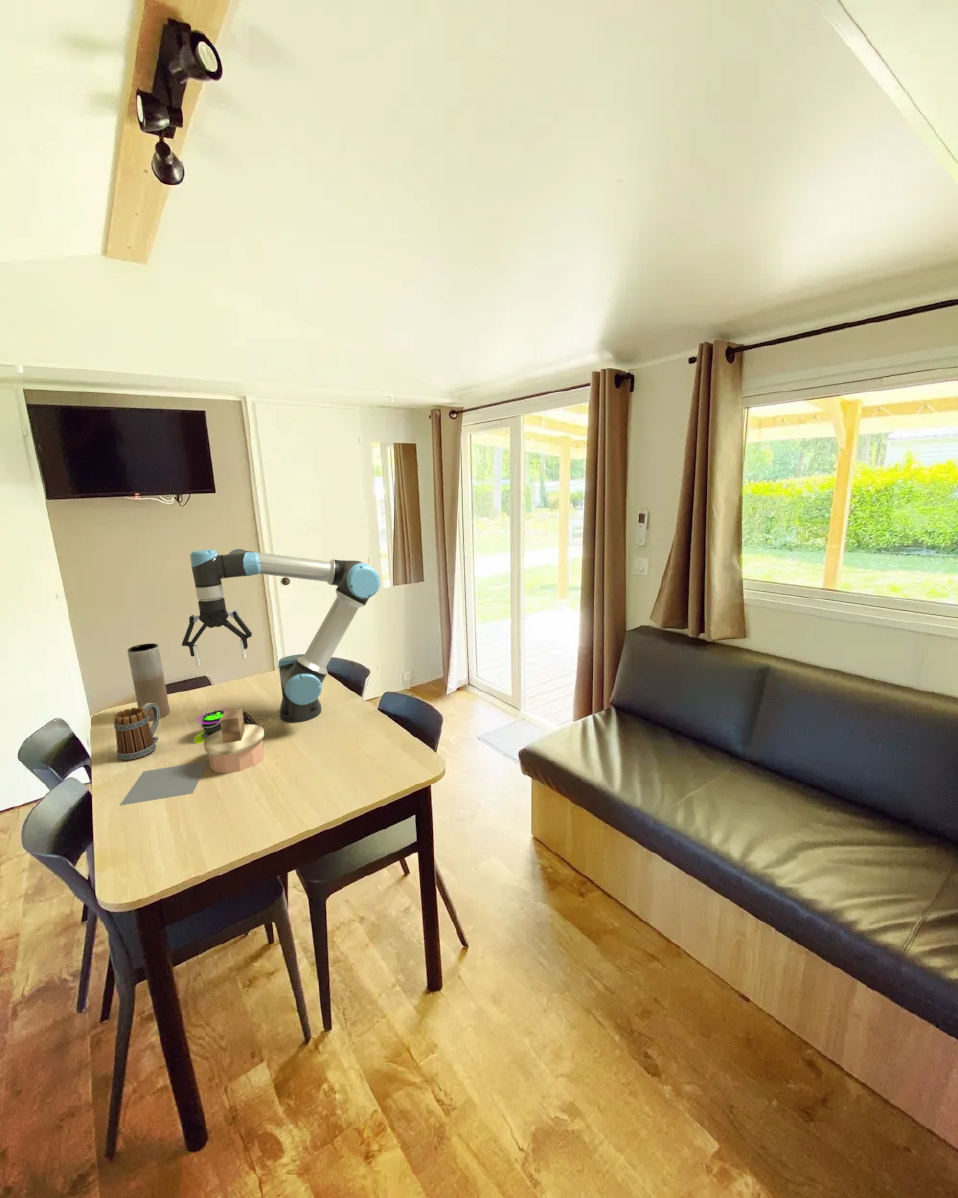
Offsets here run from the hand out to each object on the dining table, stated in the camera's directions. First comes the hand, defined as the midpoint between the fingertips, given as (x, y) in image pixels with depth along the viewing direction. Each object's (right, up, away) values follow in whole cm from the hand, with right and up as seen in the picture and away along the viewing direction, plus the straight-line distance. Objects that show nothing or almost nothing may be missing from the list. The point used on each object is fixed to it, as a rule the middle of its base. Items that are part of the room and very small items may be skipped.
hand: (221, 661), depth 165 cm
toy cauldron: (-8, -28, +13) cm, 32 cm away
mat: (-7, -34, -17) cm, 38 cm away
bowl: (+8, -31, -5) cm, 32 cm away
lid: (+8, -24, -7) cm, 26 cm away
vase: (-42, -25, +31) cm, 58 cm away
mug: (-28, -30, +3) cm, 41 cm away
